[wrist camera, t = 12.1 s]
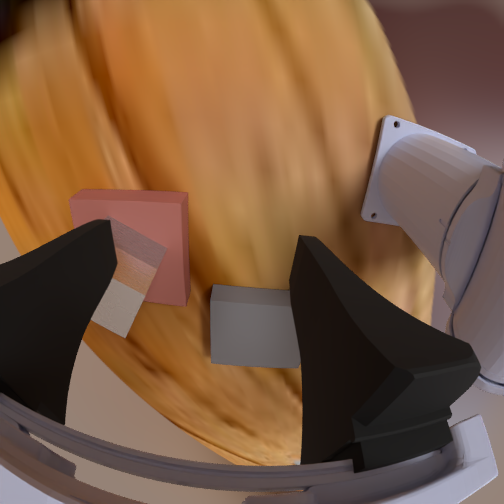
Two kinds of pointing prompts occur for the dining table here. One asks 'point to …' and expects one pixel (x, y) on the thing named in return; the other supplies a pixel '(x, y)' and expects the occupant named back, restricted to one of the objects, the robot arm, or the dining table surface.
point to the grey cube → (128, 278)
